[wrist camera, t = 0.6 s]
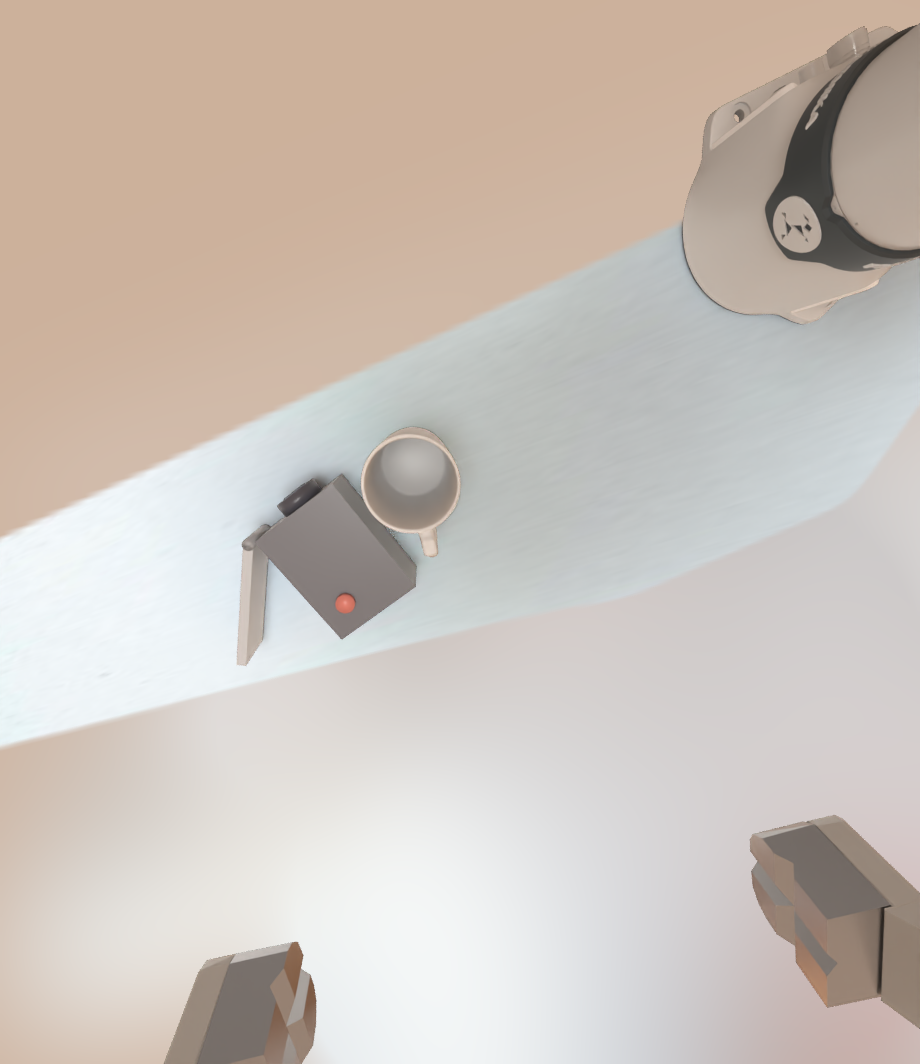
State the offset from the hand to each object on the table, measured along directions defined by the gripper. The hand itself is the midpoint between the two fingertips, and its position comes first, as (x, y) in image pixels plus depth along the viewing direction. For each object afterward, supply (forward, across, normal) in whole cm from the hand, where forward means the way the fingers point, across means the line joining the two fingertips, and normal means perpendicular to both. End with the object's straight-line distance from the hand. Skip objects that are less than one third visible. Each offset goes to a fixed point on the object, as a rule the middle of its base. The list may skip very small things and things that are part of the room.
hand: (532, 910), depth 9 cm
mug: (+40, +1, -2) cm, 40 cm away
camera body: (+40, +9, +3) cm, 41 cm away
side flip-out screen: (+40, +18, +5) cm, 44 cm away
